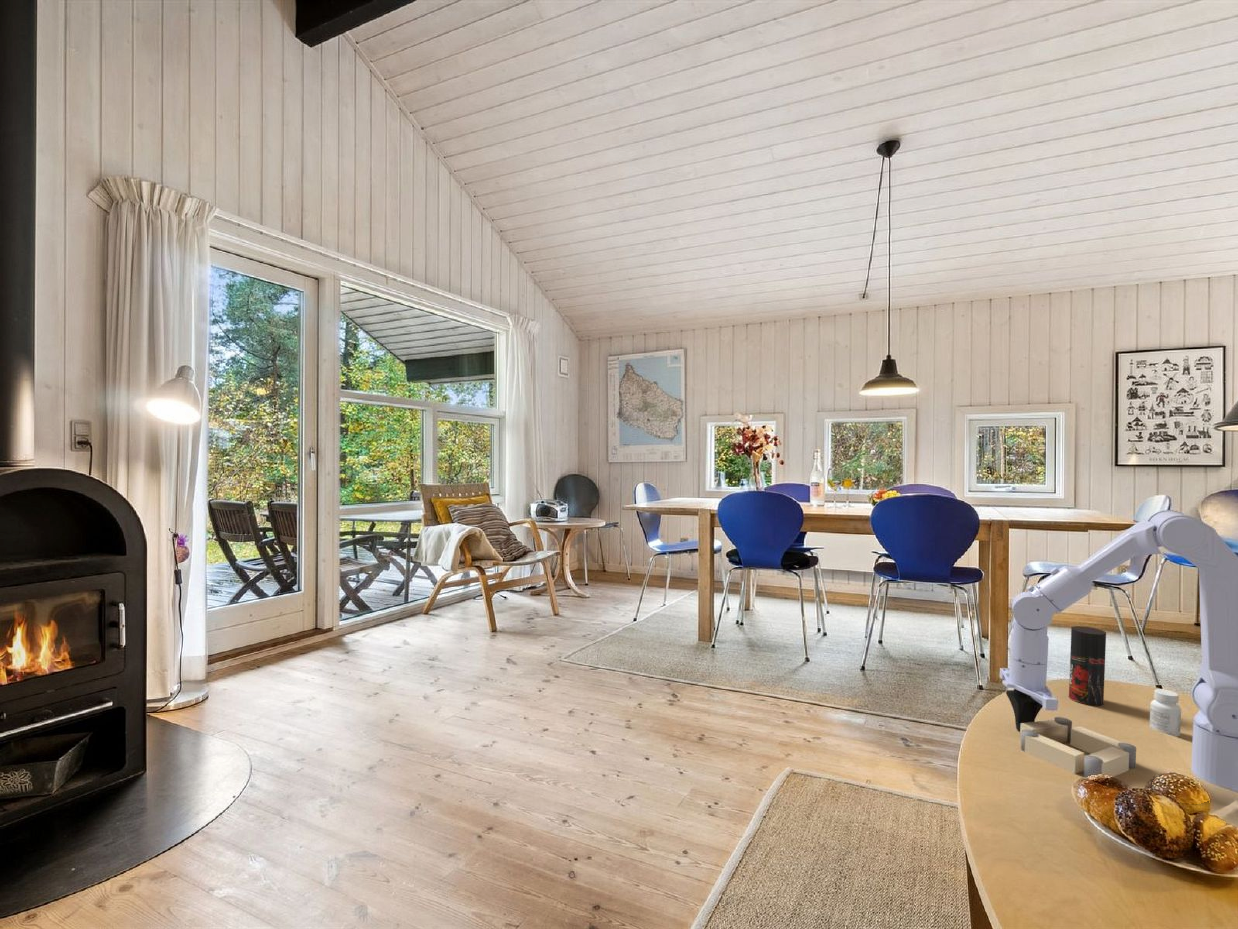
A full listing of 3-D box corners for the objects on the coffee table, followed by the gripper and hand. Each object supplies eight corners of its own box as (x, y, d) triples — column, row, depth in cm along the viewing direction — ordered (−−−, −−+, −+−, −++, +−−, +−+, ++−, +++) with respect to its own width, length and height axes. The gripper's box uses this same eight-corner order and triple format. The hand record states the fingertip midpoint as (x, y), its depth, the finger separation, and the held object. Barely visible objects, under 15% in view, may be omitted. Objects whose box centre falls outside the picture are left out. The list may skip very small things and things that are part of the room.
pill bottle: (1168, 728, 121) (1169, 688, 121) (1186, 738, 117) (1188, 697, 117) (1143, 726, 122) (1145, 687, 122) (1160, 737, 118) (1162, 696, 117)
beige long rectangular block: (1061, 734, 117) (1062, 716, 116) (1074, 741, 114) (1075, 722, 114) (1019, 739, 115) (1020, 721, 114) (1031, 746, 112) (1032, 727, 112)
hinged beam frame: (1141, 770, 105) (1142, 748, 105) (1097, 788, 100) (1098, 765, 100) (1058, 737, 117) (1059, 717, 117) (1015, 752, 111) (1015, 730, 111)
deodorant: (1110, 706, 131) (1113, 634, 131) (1081, 705, 131) (1084, 634, 131) (1090, 694, 137) (1092, 626, 137) (1062, 694, 137) (1064, 626, 137)
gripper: (984, 645, 122) (981, 713, 123) (1029, 673, 108) (1025, 751, 109) (1022, 646, 122) (1018, 715, 123) (1072, 675, 108) (1067, 753, 108)
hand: (1024, 732), depth 116 cm, fingers closed, pressing on beige long rectangular block
